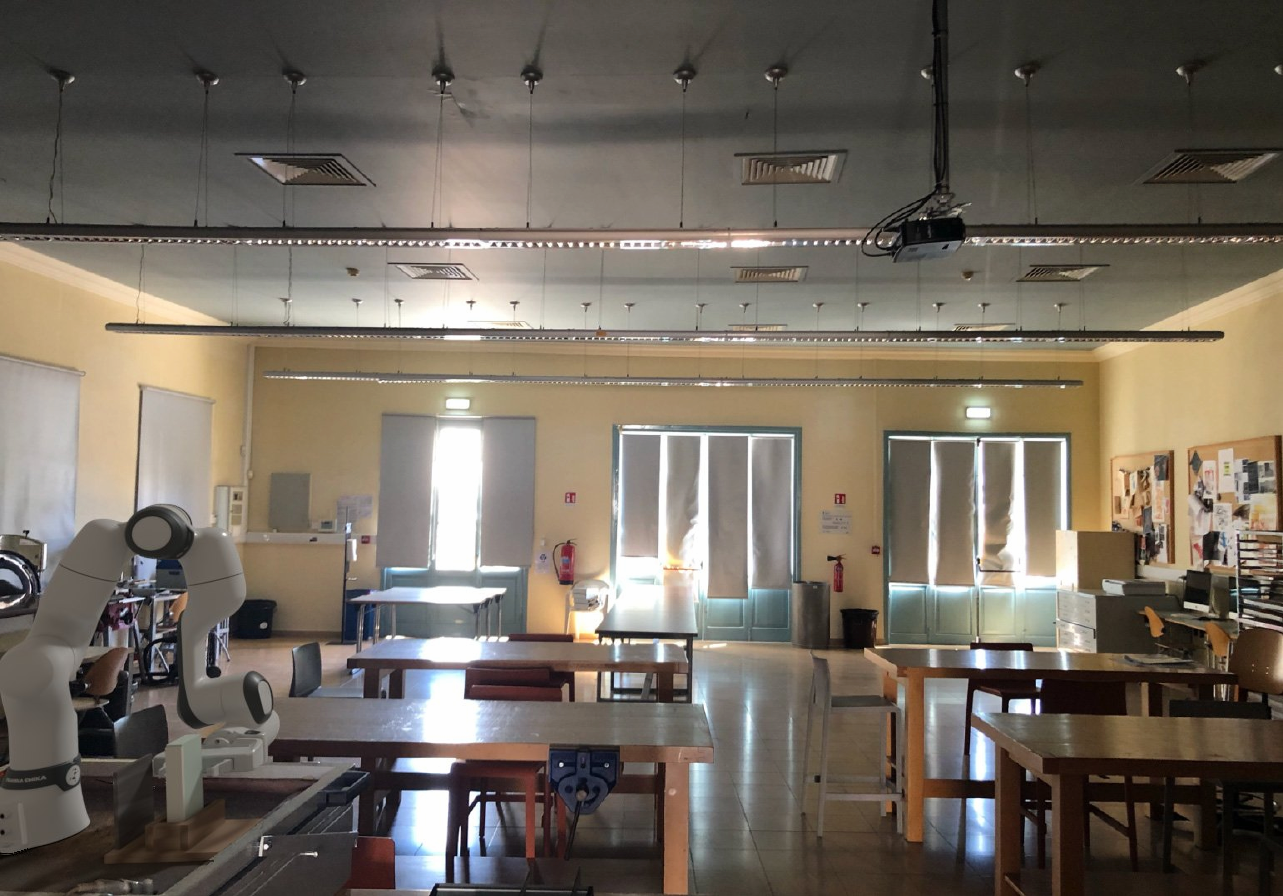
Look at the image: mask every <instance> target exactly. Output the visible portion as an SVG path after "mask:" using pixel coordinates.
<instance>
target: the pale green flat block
mask: <svg viewBox="0 0 1283 896" xmlns="http://www.w3.org/2000/svg"><path fill="white" fill-rule="evenodd" d="M201 745H202V734H201V733H195V734H194V733H191V734H184V735H182V736H181V737H179V738H177V739H175V740H173V741H171V742H170V743H167V744H166V746H165V747H164V751H165V764H166V779H165V783H166V784H165V787H166V789H165V791H166V795H165V797H166V812H167V822H185V821H187V820H188V819H189V818H191V817H192V816H194V815H195V814H196V813H198V812H199V811H201V810H202V809H204V786H203V784H204V783H203V773H202V747H201Z"/></svg>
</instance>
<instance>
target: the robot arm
mask: <svg viewBox="0 0 1283 896" xmlns="http://www.w3.org/2000/svg"><path fill="white" fill-rule="evenodd" d="M135 556H139V557H142V558H144V559H149V560H169V561H171V560H172V561H178V562H179V564H180V565H181V567H182V568H181V569H182V570H183V575H184V579H185V582H186V583H185V585H186V588H187V589H186V590H187V598H186V604H185V607H184V609H183V610H181V611H180V613H179V615H178V617H177V624H176V625H177V627H176V638H177V639H176V641H177V642H176V645H177V647H176V648H177V669H178V670H177V671H178V672H177V673H178V689H177V690H178V691H177V697H176V698H177V699H176V713H177V716H178V718H179V719H180V720H181V721H182V723H184V724H185V725H186V726H188V727H189V728H191V729H194V730H201V729H203V728H207V727H211V726H215V725H216V724H221V723H225V724H224V725H222V726H221V727H219V728H217V729H216V730H214V731H212V732H211V733H209V734H208V735H207V736H206V737H205V739H204V740H203V742H202V744H201V747H202V774H206V777H207V778H216V777H217V776H219V775H222V774H227V773H246V772H247V773H249V772H253V771H255V770H257V769H258V768H260V767H262V766H263V765H266V764H268V757H269V756H268V755H269V753H268V752H269V746H270V745H271V744H272V743H273V741H274V740H275V738H276V737H277V736H278V733H279V731H280V727H281V725H280V724H281V721H280V717H279V715H278V712H276V711H275V710H274V694H273V690H272V687H271V684H270V683H269V681H268V680H267V679H266V677H264V676H263V675H262V674H261V673H260V672H258V671H257V670H249V671H244V672H238V673H232V674H229V675H223V676H218V677H212V678H211V677H209V676H208V675H207V666H206V665H207V662H206V657H207V656H206V639H207V636H208V634H209V632H210V631H211V630H212V629H213V628H214V627H215V626H217V625H218V624H221V623H222V622H223V621H225V620H227V619H228V618H230V617H231V616H232V615H234V614H235V613H236V612H237V611H238V610H239V609H240V608H241V607H242V605H243V604H244V602H245V600H246V597H247V583H246V577H245V573H244V569H243V568H244V567H243V564H242V561H241V557H240V554H239V552H238V549H237V546H236V544H235V542H234V539H233V537H232V535H231V534H230V532H229V531H228V530H226V529H225V528H223V527H216V526H207V527H200V528H199V527H195V526H193V521H192V518H191V516H190V514H189V513H188V512H187V511H186V510H184V508H182V507H180V506H178V505H176V504H173V503H172V504H171V503H155V504H154V503H153V504H151V505H148V506H146V507H144V508H140V509H139V510H137V511H136V512H134V513H133V514H132V515H131V516H130V517H129V519H128V520H127V521H125V522H122V521H118V520H114V519H111V518H98V519H97V518H95V519H92V520H90V521H88V522H86V523H85V524H84V525H83V527H82V528H81V529H80V530H79V531H78V533H77V534H76V535H75V536H74V538H73V539H72V541H71V542H70V544H69V545H68V547H67V548H66V549H65V552H64V553H63V555H62V556H61V559H60V560H59V562H58V564H57V566H56V568H55V570H54V571H53V573H52V576H51V577H50V579H49V581H48V583H47V585H46V587H45V589H44V590H43V593H42V594H41V597H40V598H39V601H38V607H37V610H36V614H35V617H34V620H33V623H32V625H31V628H30V629H29V632H28V634H27V635H26V636H25V638H24V639H23V641H22V642H20V643H18V644H16V645H14V646H12V647H11V648H9V649H8V650H7V651H6V652H5V653H4V655H3V656H2V657H1V658H0V698H1V703H2V706H3V710H4V714H5V718H6V722H7V730H8V751H9V753H8V755H9V766H7V767H6V768H5V769H3V770H1V771H0V779H1V778H3V779H2V781H1V784H0V852H1V853H13V854H15V853H14V852H17V851H20V852H22V851H21V850H23V851H25V850H24V849H26V850H27V848H28V849H31V848H35V847H36V848H37V847H39V846H43V845H48V844H51V843H55V842H58V841H61V840H63V839H66V838H68V837H72V836H73V835H76V834H78V833H80V832H81V831H83V830H84V829H86V828H87V827H88V826H89V825H90V823H91V820H90V817H89V815H88V812H87V809H86V805H85V801H84V795H83V792H82V791H83V790H82V785H81V779H82V778H81V777H82V770H83V769H82V755H81V753H80V752H79V737H78V736H79V734H78V733H79V731H78V728H79V727H78V713H77V712H76V710H75V708H74V705H73V700H72V695H71V691H70V685H69V684H70V683H69V682H70V678H71V677H72V676H73V675H74V674H75V673H76V672H77V671H78V670H79V668H80V666H81V665H82V663H83V660H84V659H85V656H86V654H87V651H88V650H89V647H90V644H91V641H92V640H93V637H94V635H95V632H96V629H97V627H98V624H99V621H100V619H101V616H102V614H103V612H104V610H105V609H106V606H107V604H108V602H109V600H110V599H111V597H112V594H113V592H114V590H115V588H116V586H117V585H118V583H119V580H120V579H121V576H122V574H123V573H124V570H125V569H126V567H127V566H128V564H129V562H130V561H131V560H132V559H133V558H134V557H135ZM152 760H153V775H155V776H157V778H158V779H159V780H163V779H165V780H166V764H165V750H164V751H162V752H160V753H158V754H155V756H153V757H152ZM17 853H18V852H17Z"/></svg>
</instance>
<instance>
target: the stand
mask: <svg viewBox="0 0 1283 896" xmlns="http://www.w3.org/2000/svg"><path fill="white" fill-rule="evenodd" d="M112 773H113V774H112V782H113V784H112V785H113V786H112V788H113V790H112V791H113V793H112V794H113V821H114V822H113V823H114V824H113V827H114V828H113V829H114V848H113V849H112V850H109V852H107V853H106V854H104V855H103V857H104V858H103V860H104V865H107V864H109V865H110V864H141V863H142V864H145V863H147V864H148V863H174V862H175V863H177V862H179V863H181V862H205V861H204V860H208V859H209V858H210V857H214V855H216V854H217V853H219V852H221V851H222V850H223V849H224V848H226V847H227V846H228V845H229V844H230V843H233V842H234V841H236V840H237V839H238V838H240V837H241V836H243V834H245V833H247V832H248V831H249V830H250V829H252V828H253V827H254V826H255V825H256V824H258V823H259V822H260V821H262V820H263V821H264V818H242V819H241V818H240V819H239V818H238V819H226V799H225V798H216V799H214V800H213V801H212V802H211V803H209V804H208V805H206V806H205V807H203V809H202V810H201V811H199V812H198V813H196V814H195V815H194V816H192V817H191V818H189V819H188V820H187V821H185V822H167V811H165V813H163V814H162V815H160V816H158V817H157V818H155V802H154V798H155V797H154V793H155V792H154V789H153V787H154V771H153V753H146V755H143V756H141V757H140V758H138V759H136V760H134V761H132V762H130V763H129V764H127V765H125V766H122V767H121V768H119V769H117V770H115V771H113V772H112Z"/></svg>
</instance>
